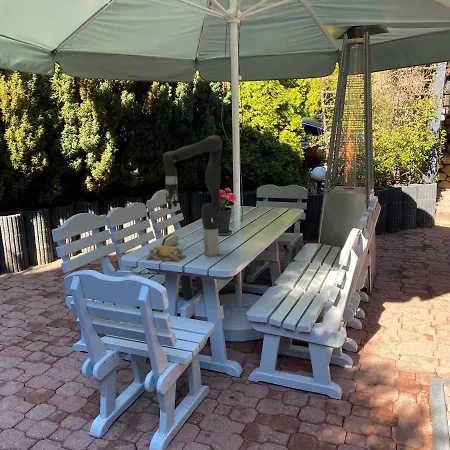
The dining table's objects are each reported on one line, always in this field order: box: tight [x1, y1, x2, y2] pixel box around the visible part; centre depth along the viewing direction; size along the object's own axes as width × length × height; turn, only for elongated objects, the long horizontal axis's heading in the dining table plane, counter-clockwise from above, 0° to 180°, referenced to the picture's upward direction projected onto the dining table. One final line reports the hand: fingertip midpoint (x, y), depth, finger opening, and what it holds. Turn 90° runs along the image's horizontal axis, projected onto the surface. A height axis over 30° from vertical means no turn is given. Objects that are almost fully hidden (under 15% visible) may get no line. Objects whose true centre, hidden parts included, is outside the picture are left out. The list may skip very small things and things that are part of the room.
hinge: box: [159, 232, 180, 247], centre depth 317 cm, size 17×5×10 cm, turn 150°
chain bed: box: [145, 247, 187, 263], centre depth 288 cm, size 22×12×6 cm, turn 72°
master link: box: [153, 244, 179, 255], centre depth 287 cm, size 15×3×5 cm, turn 73°
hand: (172, 207), depth 297 cm, fingers open, 8 cm apart
